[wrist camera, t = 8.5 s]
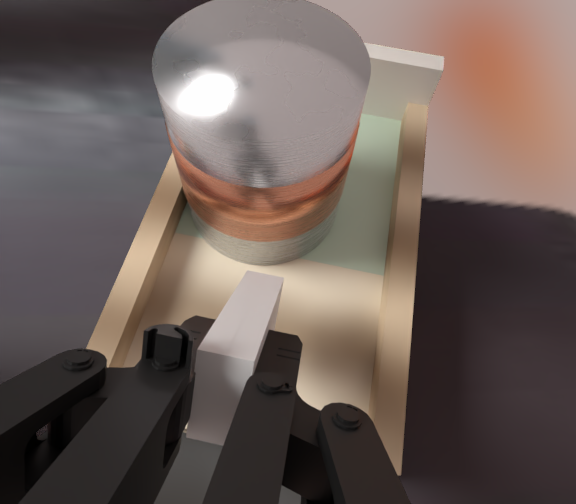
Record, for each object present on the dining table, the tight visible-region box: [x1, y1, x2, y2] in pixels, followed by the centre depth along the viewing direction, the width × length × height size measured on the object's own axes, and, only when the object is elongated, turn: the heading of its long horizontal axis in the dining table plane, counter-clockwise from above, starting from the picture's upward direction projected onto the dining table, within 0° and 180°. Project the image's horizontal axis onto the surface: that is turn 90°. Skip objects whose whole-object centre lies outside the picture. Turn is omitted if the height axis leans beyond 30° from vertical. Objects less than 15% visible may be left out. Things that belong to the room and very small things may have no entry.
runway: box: [86, 102, 428, 504], centre depth 18 cm, size 44×13×4 cm, turn 168°
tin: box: [152, 0, 371, 265], centre depth 20 cm, size 8×8×9 cm
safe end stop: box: [175, 42, 444, 276], centre depth 25 cm, size 12×13×7 cm
